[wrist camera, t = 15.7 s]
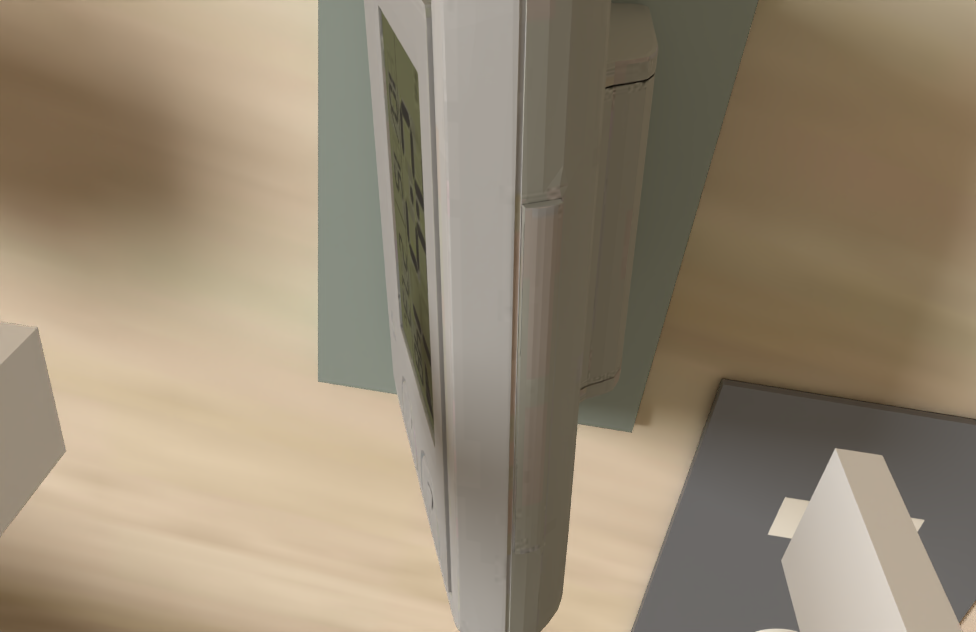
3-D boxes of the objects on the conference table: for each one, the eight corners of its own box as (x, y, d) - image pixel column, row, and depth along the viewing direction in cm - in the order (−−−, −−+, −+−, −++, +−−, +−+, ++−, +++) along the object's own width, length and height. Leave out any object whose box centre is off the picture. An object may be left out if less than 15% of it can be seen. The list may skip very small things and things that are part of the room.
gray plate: (866, 741, 37) (868, 748, 37) (607, 697, 38) (607, 703, 37) (1085, 437, 27) (1090, 443, 26) (721, 378, 27) (723, 384, 27)
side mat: (630, 422, 28) (631, 432, 28) (321, 372, 29) (318, 381, 28) (803, -173, 18) (808, -171, 18) (324, -241, 19) (318, -241, 18)
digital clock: (378, -205, 18) (181, -187, 10) (762, -110, 19) (913, -8, 10) (318, 351, 28) (189, 622, 19) (577, 411, 28) (569, 706, 19)
